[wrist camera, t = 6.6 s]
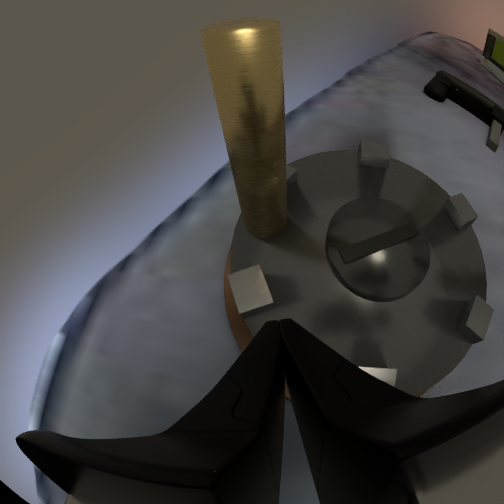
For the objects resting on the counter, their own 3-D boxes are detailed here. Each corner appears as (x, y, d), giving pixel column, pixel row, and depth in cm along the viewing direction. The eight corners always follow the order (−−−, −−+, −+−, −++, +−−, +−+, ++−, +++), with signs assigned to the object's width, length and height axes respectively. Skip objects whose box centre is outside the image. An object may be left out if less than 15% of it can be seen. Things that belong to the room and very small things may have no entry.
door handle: (530, 168, 19) (528, 125, 23) (416, 87, 27) (440, 65, 31) (520, 183, 22) (522, 137, 26) (412, 105, 30) (437, 78, 34)
